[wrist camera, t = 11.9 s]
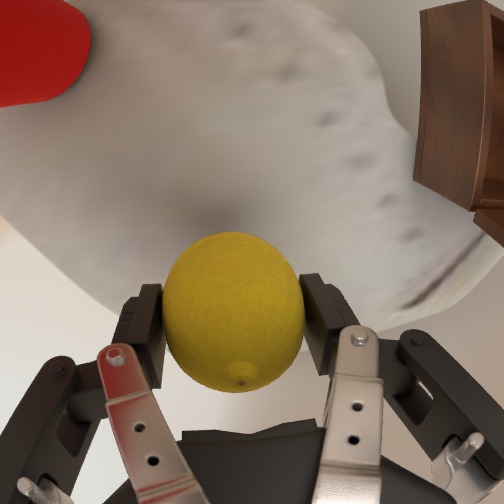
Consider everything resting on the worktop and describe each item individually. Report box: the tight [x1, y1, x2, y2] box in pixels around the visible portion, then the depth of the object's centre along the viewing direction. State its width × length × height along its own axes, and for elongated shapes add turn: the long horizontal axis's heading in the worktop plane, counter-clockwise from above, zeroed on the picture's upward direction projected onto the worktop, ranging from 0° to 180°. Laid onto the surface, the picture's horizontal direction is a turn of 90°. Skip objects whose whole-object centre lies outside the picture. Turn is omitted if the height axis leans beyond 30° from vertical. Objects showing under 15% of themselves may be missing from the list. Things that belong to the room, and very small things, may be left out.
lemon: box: [161, 232, 305, 393], centre depth 13 cm, size 6×6×8 cm
